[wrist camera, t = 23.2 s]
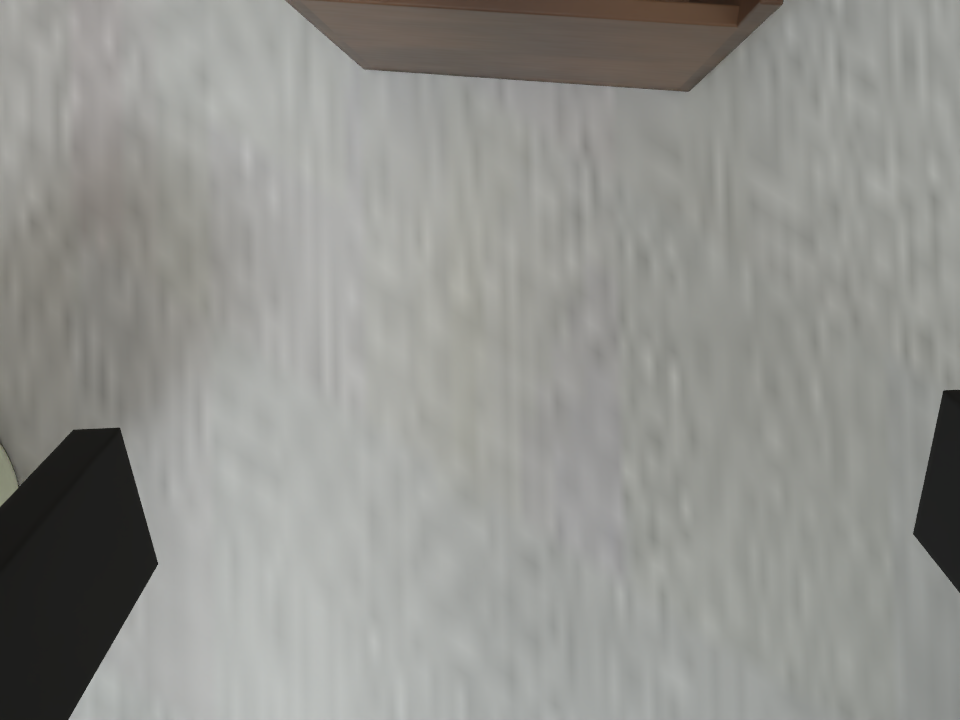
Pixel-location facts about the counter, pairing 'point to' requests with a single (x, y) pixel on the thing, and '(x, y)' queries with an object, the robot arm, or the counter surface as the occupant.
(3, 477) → the can
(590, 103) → the counter surface
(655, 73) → the brown wooden open box
